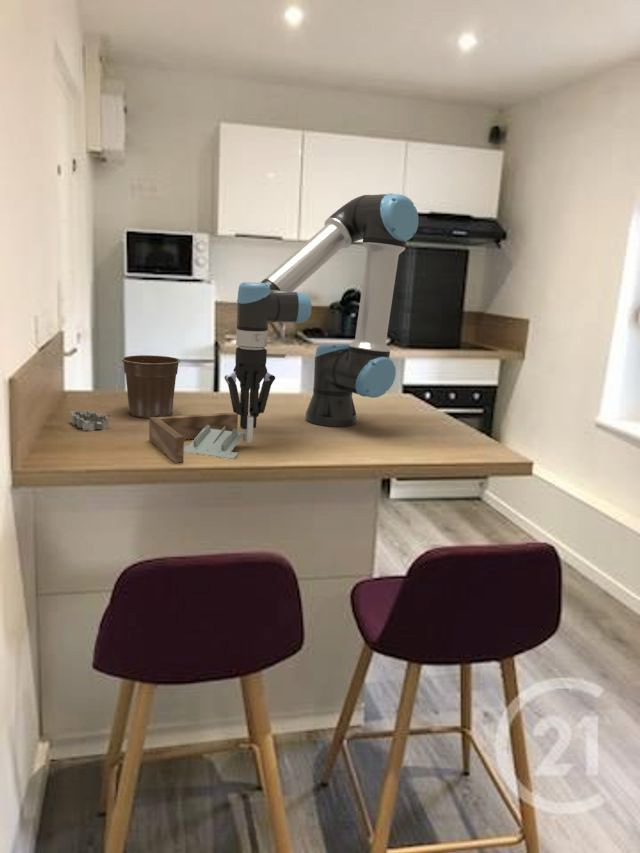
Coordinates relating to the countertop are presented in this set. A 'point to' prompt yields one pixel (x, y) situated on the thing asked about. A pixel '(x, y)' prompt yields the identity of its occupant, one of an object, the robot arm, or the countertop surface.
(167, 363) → the plant pot
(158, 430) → the wooden corner frame
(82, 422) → the egg carton
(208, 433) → the metal bracket
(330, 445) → the countertop surface
